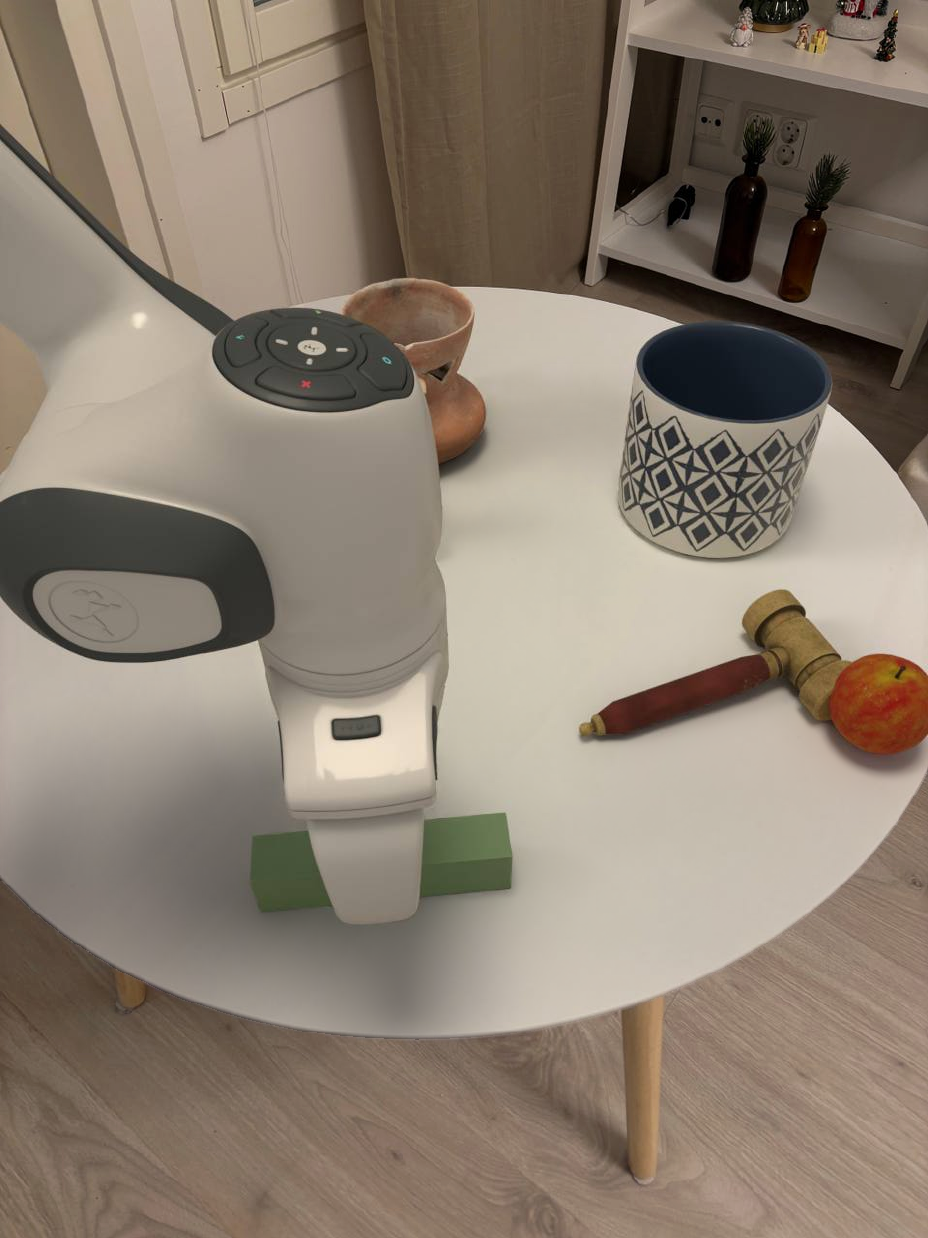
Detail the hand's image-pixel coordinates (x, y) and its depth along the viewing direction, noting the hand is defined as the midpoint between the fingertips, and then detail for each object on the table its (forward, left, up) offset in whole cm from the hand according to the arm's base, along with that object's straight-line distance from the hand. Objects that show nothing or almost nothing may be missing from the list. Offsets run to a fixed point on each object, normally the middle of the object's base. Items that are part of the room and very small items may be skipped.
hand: (380, 805), depth 55 cm
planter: (+31, +35, -9) cm, 47 cm away
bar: (0, 0, -9) cm, 9 cm away
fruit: (+35, +8, -9) cm, 37 cm away
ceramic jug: (+5, +49, -9) cm, 50 cm away
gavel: (+24, +12, -9) cm, 29 cm away
